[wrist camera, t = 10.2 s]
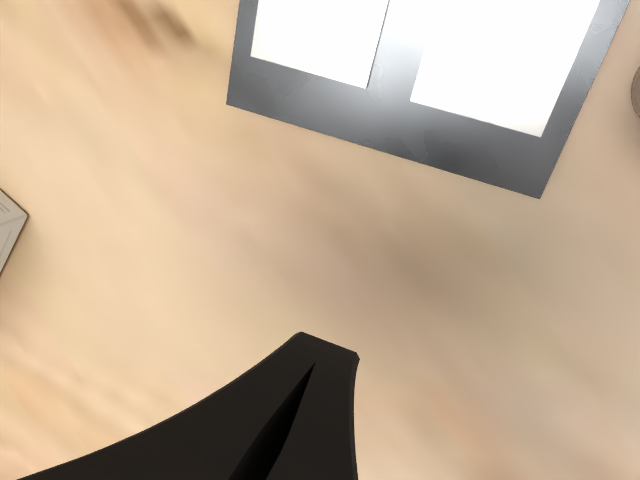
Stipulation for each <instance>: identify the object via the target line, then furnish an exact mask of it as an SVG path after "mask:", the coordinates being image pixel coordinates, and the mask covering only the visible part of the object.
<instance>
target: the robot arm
mask: <svg viewBox="0 0 640 480" xmlns="http://www.w3.org/2000/svg"><path fill="white" fill-rule="evenodd" d="M359 360H360V358H359V357H358V355H357V353H356V352H354V351H351V350H348V349H346V348H343V347H340V346H338V345H335V344H333V343H330V342H327V341H325V340H322V339H320V338H317V337H314V336H312V335H309V334H306V333H304V332H299V333H296V334H295V335H293V336H292V337H291V338H290V339H289V340H288V341H286V342H285V343H284V344H283V345H282V346H280V347H279V348H278V349H277V350H275V351H274V352H273V353H271V354H270V355H269V356H267V357H266V358H265V359H263V360H262V361H261V362H259V363H258V364H257V365H255V366H254V367H252V368H251V369H249V370H248V371H246V372H245V373H243V374H242V375H241V376H239V377H238V378H236V379H235V380H233V381H232V382H230V383H229V384H227V385H226V386H224V387H222V388H221V389H219V390H217V391H216V392H214V393H212V394H211V395H209V396H207V397H206V398H204V399H202V400H201V401H199V402H197V403H196V404H194V405H192V406H190V407H189V408H187V409H185V410H183V411H181V412H180V413H178V414H176V415H174V416H172V417H170V418H168V419H166V420H164V421H162V422H160V423H158V424H156V425H154V426H152V427H150V428H148V429H146V430H144V431H142V432H139V433H137V434H135V435H133V436H130V437H128V438H126V439H123V440H121V441H119V442H117V443H114V444H112V445H110V446H108V447H105V448H103V449H100V450H98V451H95V452H93V453H90V454H88V455H85V456H83V457H80V458H77V459H75V460H72V461H69V462H66V463H63V464H60V465H57V466H55V467H52V468H49V469H46V470H43V471H40V472H37V473H35V474H32V475H29V476H26V477H23V478H20V479H17V480H358V473H357V463H356V453H355V438H354V387H355V378H356V371H357V367H358V363H359Z"/></svg>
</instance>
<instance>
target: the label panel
mask: <svg viewBox="0 0 640 480" xmlns="http://www.w3.org/2000/svg"><path fill="white" fill-rule="evenodd" d="M629 1H630V0H240V2H239V10H238V17H237V25H236V33H235V40H234V48H233V56H232V63H231V71H230V79H229V86H228V94H227V101H226V104H227V105H230V106H233V107H237V108H240V109H243V110H246V111H250V112H253V113H256V114H260V115H263V116H266V117H270V118H273V119H276V120H280V121H283V122H286V123H290V124H293V125H296V126H299V127H303V128H306V129H309V130H313V131H316V132H319V133H323V134H326V135H329V136H333V137H336V138H339V139H343V140H346V141H349V142H352V143H356V144H359V145H362V146H366V147H369V148H372V149H376V150H379V151H382V152H386V153H389V154H392V155H395V156H399V157H402V158H405V159H409V160H412V161H415V162H419V163H422V164H425V165H429V166H432V167H435V168H439V169H442V170H445V171H448V172H452V173H455V174H458V175H462V176H465V177H468V178H472V179H475V180H478V181H482V182H485V183H488V184H492V185H495V186H498V187H501V188H505V189H508V190H511V191H515V192H518V193H521V194H525V195H528V196H531V197H535V198H538V199H540V197H541V195H542V193H543V191H544V188H545V186H546V184H547V182H548V180H549V177H550V175H551V173H552V171H553V168H554V166H555V164H556V162H557V160H558V157H559V155H560V153H561V151H562V149H563V146H564V144H565V142H566V140H567V138H568V135H569V133H570V131H571V129H572V127H573V124H574V122H575V120H576V118H577V116H578V113H579V111H580V109H581V107H582V105H583V102H584V100H585V98H586V96H587V94H588V91H589V89H590V87H591V85H592V83H593V80H594V78H595V76H596V74H597V72H598V69H599V67H600V65H601V63H602V61H603V58H604V56H605V54H606V52H607V50H608V47H609V45H610V43H611V41H612V39H613V36H614V34H615V32H616V30H617V28H618V25H619V23H620V21H621V19H622V17H623V14H624V12H625V10H626V8H627V6H628V3H629Z"/></svg>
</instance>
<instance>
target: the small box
mask: <svg viewBox="0 0 640 480" xmlns="http://www.w3.org/2000/svg"><path fill="white" fill-rule="evenodd" d="M26 218H27V215H26V213H25V212H24V211H23V210H22V209H20V208H19V207H18V206H17V205H16V204H15V203H14V202H13V201H12V200H11V199H10V198H8V197H7V196H6V195H5V194H4V193H3V192H2V191H1V190H0V272H1V270H2V268H3V266H4V264H5V262H6V260H7V258H8V255H9V253H10V251H11V249H12V247H13V245H14V243H15V241H16V239H17V237H18V235H19V233H20V231H21V229H22V226H23V224H24V222H25V220H26Z"/></svg>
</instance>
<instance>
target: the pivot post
mask: <svg viewBox="0 0 640 480" xmlns="http://www.w3.org/2000/svg"><path fill="white" fill-rule="evenodd" d="M631 98H632V104H633V107H634V109H635V111H636V113H637V114H638V116H639V117H640V67H639V69H638V71H637V72H636V75H635V77H634V80H633V83H632V89H631Z"/></svg>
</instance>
